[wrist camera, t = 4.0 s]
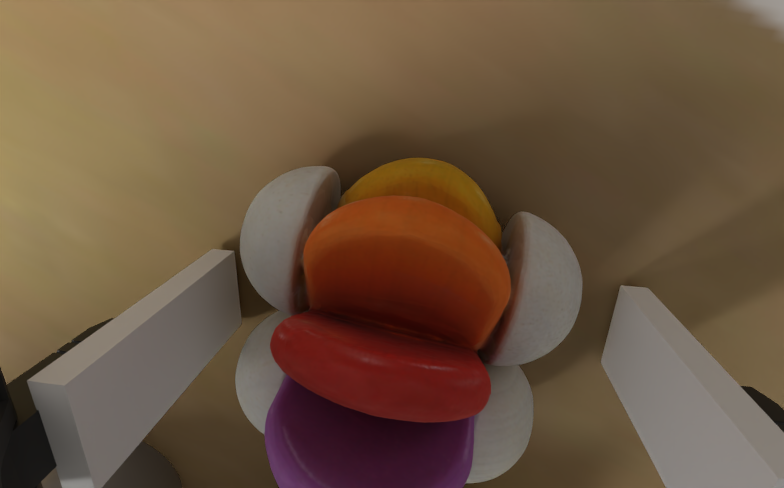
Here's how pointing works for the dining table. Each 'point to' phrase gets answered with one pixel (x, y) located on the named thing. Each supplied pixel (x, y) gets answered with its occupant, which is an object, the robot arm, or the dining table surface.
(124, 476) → the grey cylinder
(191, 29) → the dining table surface
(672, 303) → the dining table surface
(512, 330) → the rainbow cloud toy
